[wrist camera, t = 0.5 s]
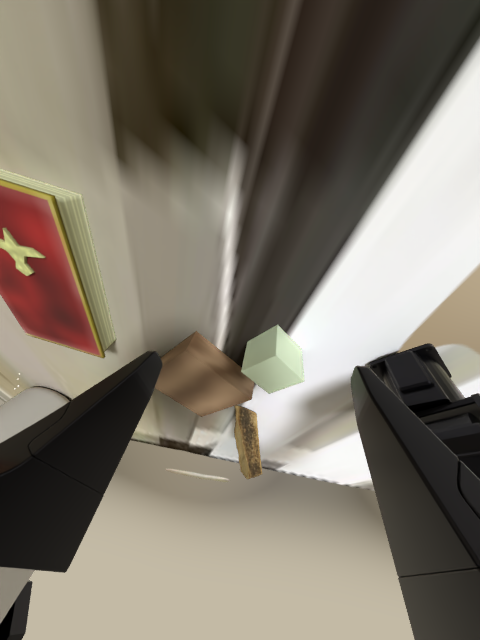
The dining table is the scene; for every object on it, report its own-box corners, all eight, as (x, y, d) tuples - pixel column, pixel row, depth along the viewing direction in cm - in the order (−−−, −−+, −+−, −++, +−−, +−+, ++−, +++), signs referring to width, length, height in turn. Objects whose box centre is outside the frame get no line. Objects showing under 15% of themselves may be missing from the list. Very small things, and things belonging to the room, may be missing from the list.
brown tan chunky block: (264, 451, 43) (288, 445, 36) (234, 483, 38) (255, 484, 31) (235, 407, 47) (251, 392, 39) (204, 431, 41) (216, 420, 34)
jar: (4, 366, 45) (-202, 517, 26) (64, 380, 44) (-106, 548, 25) (46, 406, 57) (-74, 530, 38) (94, 418, 56) (-5, 552, 37)
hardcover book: (48, 317, 32) (22, 335, 29) (-36, 151, 19) (-104, 149, 15) (120, 339, 32) (102, 359, 29) (88, 190, 19) (47, 196, 16)
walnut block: (255, 376, 32) (251, 399, 29) (208, 396, 38) (201, 416, 35) (197, 329, 28) (185, 350, 24) (155, 360, 34) (142, 380, 31)
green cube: (301, 348, 26) (304, 381, 22) (271, 362, 29) (268, 393, 25) (277, 324, 24) (275, 355, 20) (247, 341, 27) (241, 371, 23)
